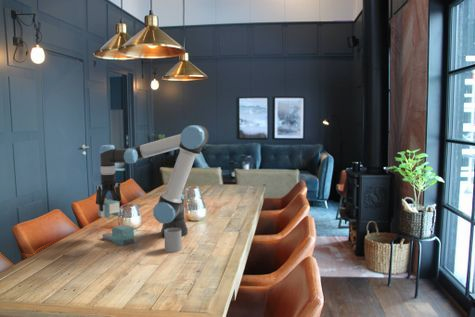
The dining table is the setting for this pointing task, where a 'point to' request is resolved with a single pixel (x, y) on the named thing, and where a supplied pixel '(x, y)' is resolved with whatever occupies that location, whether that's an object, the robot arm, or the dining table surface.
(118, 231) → the teal stepped block
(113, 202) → the block
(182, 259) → the dining table surface
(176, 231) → the cup
